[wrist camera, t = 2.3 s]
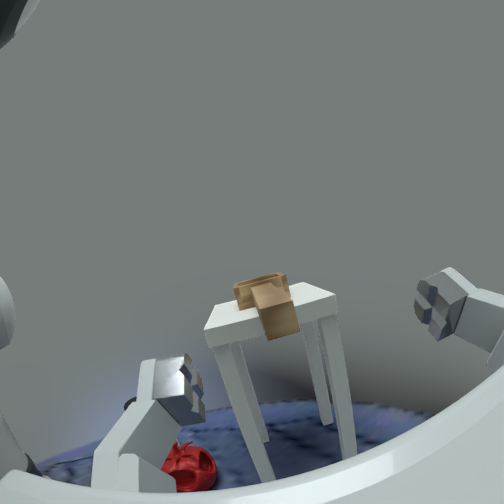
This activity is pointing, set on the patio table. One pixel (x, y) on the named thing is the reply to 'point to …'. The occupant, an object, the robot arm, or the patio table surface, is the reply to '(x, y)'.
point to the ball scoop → (269, 303)
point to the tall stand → (308, 309)
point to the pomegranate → (190, 468)
